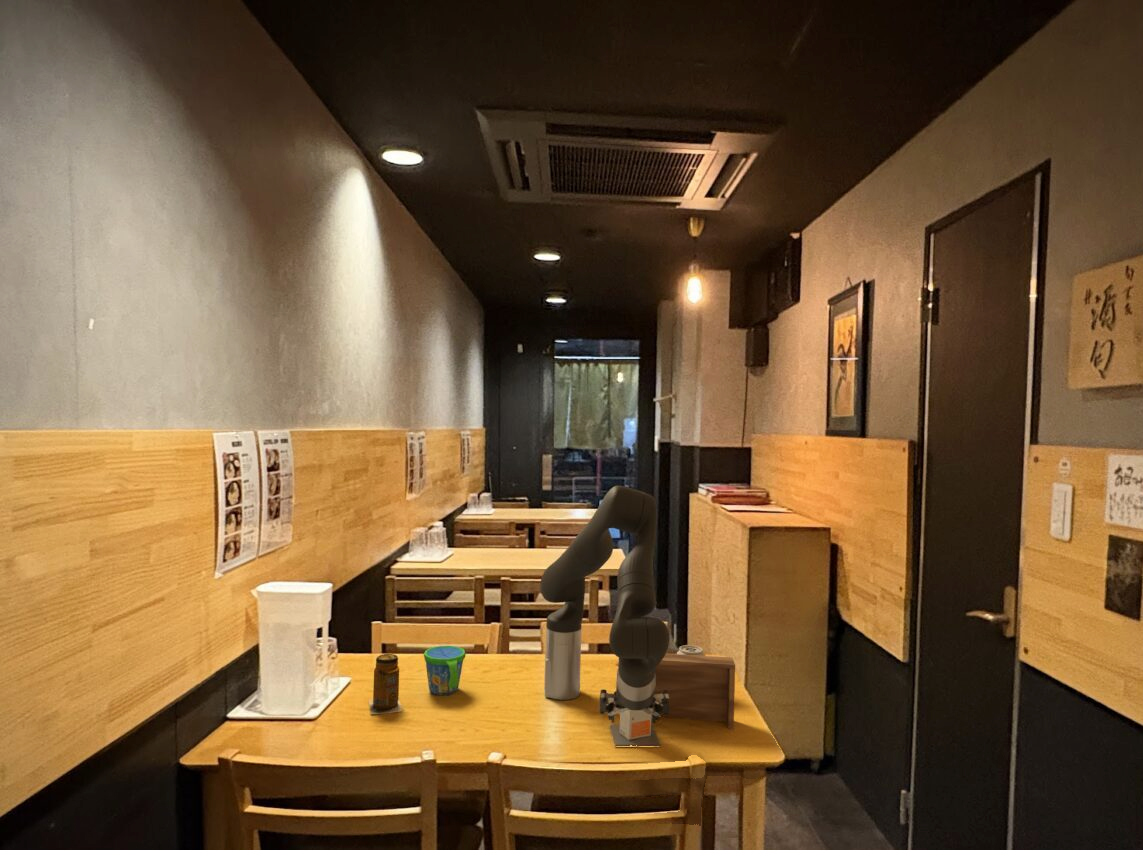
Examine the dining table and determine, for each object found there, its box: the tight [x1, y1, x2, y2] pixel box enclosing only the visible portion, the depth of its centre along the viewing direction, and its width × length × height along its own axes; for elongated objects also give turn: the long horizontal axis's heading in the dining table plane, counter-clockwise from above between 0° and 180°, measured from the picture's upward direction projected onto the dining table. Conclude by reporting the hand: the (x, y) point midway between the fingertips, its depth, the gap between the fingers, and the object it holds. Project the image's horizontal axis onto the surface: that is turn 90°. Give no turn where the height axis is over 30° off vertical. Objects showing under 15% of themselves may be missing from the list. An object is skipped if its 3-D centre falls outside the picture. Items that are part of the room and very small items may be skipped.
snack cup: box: [423, 645, 466, 696], centre depth 176 cm, size 16×11×10 cm
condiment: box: [368, 653, 403, 715], centre depth 165 cm, size 7×8×12 cm
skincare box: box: [619, 710, 652, 740], centre depth 152 cm, size 6×4×12 cm
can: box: [676, 644, 706, 656], centre depth 179 cm, size 8×8×12 cm
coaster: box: [609, 723, 661, 747], centre depth 152 cm, size 10×10×1 cm
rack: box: [651, 653, 736, 730], centre depth 162 cm, size 5×22×15 cm, turn 84°
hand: (633, 718), depth 142 cm, fingers open, 8 cm apart
